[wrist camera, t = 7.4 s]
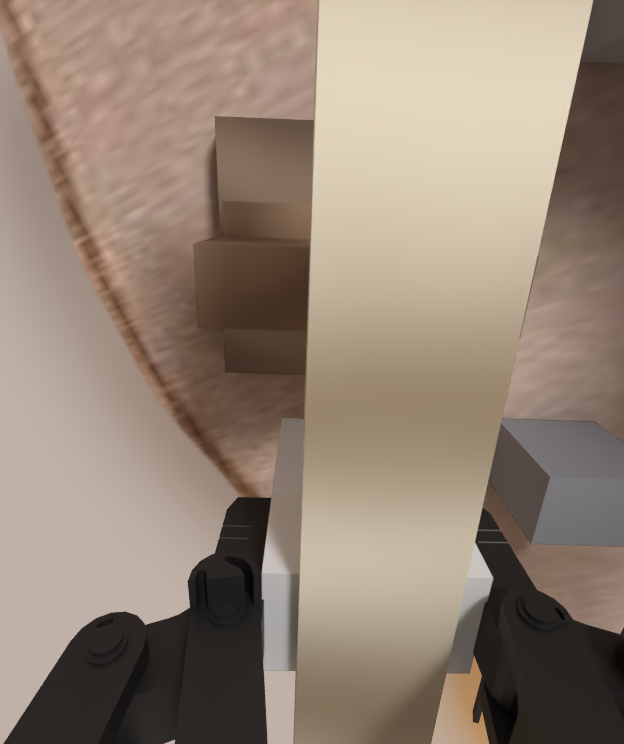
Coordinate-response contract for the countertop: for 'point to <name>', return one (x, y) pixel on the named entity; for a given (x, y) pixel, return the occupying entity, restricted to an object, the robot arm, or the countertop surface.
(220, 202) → the ridge stand
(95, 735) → the robot arm
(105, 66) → the countertop surface
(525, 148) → the wooden bar
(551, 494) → the bar rest
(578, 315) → the countertop surface
